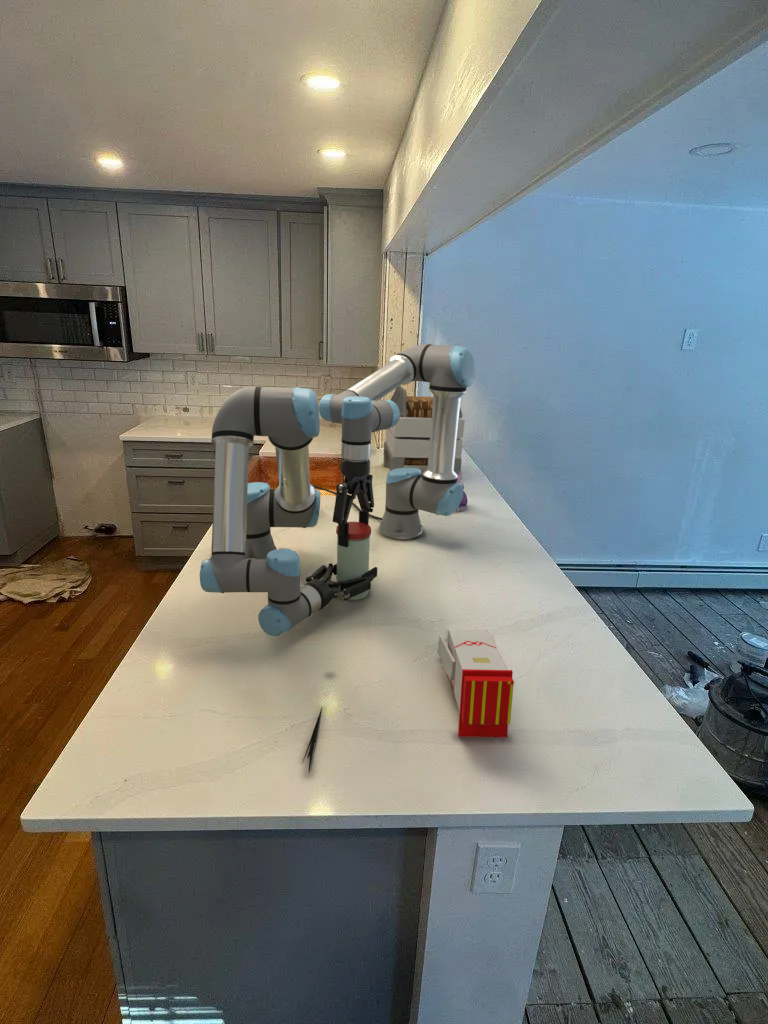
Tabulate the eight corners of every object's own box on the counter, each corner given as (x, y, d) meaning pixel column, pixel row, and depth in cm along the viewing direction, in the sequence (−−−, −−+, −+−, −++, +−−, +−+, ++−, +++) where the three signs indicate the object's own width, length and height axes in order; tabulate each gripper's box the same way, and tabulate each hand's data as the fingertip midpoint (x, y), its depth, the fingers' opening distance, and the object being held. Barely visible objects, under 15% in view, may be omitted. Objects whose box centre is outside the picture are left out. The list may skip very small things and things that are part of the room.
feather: (331, 679, 122) (336, 673, 122) (307, 777, 96) (313, 769, 95) (324, 675, 122) (329, 669, 121) (298, 772, 95) (304, 764, 95)
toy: (488, 613, 130) (523, 677, 101) (484, 667, 133) (517, 744, 104) (435, 612, 130) (455, 676, 101) (432, 666, 133) (451, 743, 103)
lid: (337, 540, 147) (337, 534, 146) (335, 527, 155) (335, 521, 155) (373, 539, 148) (373, 534, 147) (368, 526, 157) (369, 521, 156)
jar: (372, 597, 155) (374, 534, 149) (341, 601, 152) (342, 538, 146) (361, 583, 163) (363, 523, 157) (332, 587, 160) (333, 526, 154)
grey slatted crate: (382, 463, 289) (386, 382, 275) (445, 464, 293) (451, 384, 279) (390, 482, 257) (394, 392, 243) (460, 483, 261) (468, 394, 247)
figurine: (454, 513, 222) (457, 476, 217) (439, 505, 230) (442, 470, 225) (473, 510, 226) (477, 474, 221) (459, 503, 234) (462, 468, 229)
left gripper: (278, 599, 148) (331, 569, 166) (345, 624, 137) (394, 589, 155) (278, 573, 145) (331, 545, 163) (346, 597, 135) (395, 564, 153)
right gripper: (365, 448, 155) (363, 525, 163) (318, 464, 137) (317, 549, 145) (389, 452, 152) (385, 530, 160) (343, 470, 134) (342, 557, 142)
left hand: (362, 567), depth 159 cm, fingers closed on jar, 9 cm apart
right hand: (353, 539), depth 152 cm, fingers closed on lid, 9 cm apart
